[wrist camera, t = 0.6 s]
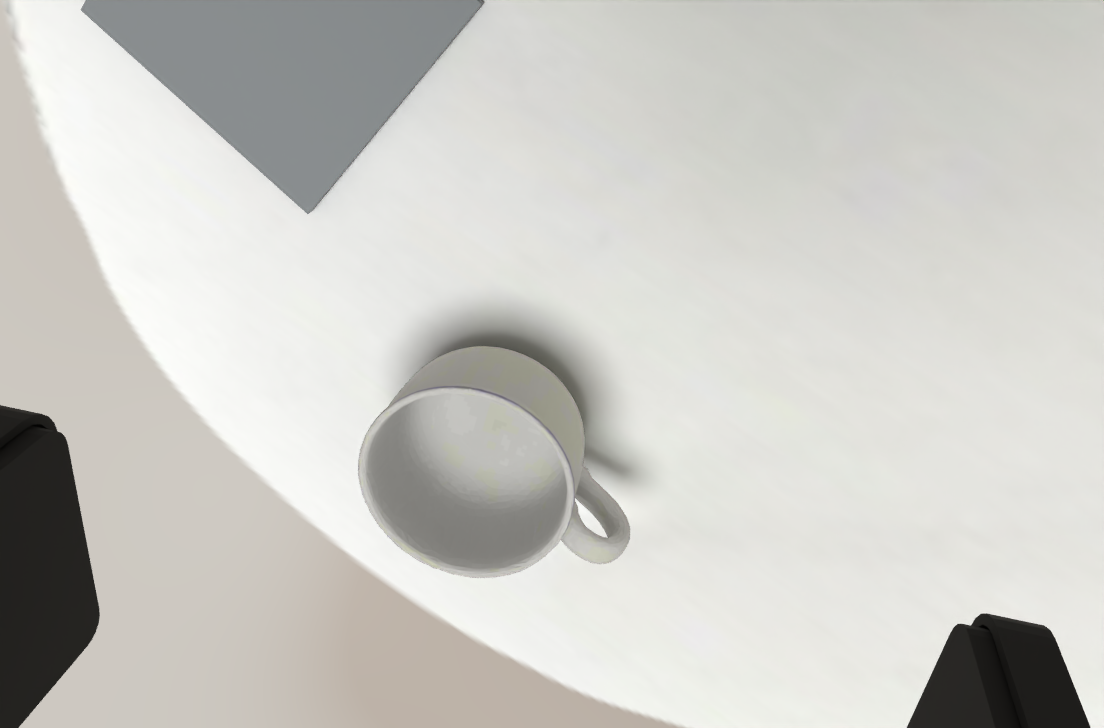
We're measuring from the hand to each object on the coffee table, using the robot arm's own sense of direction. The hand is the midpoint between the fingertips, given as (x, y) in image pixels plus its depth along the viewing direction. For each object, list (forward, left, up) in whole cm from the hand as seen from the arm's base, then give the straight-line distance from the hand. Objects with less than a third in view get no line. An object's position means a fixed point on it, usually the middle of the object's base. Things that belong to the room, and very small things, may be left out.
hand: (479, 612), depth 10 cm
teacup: (+20, +8, -35) cm, 41 cm away
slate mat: (+12, -15, -35) cm, 39 cm away
